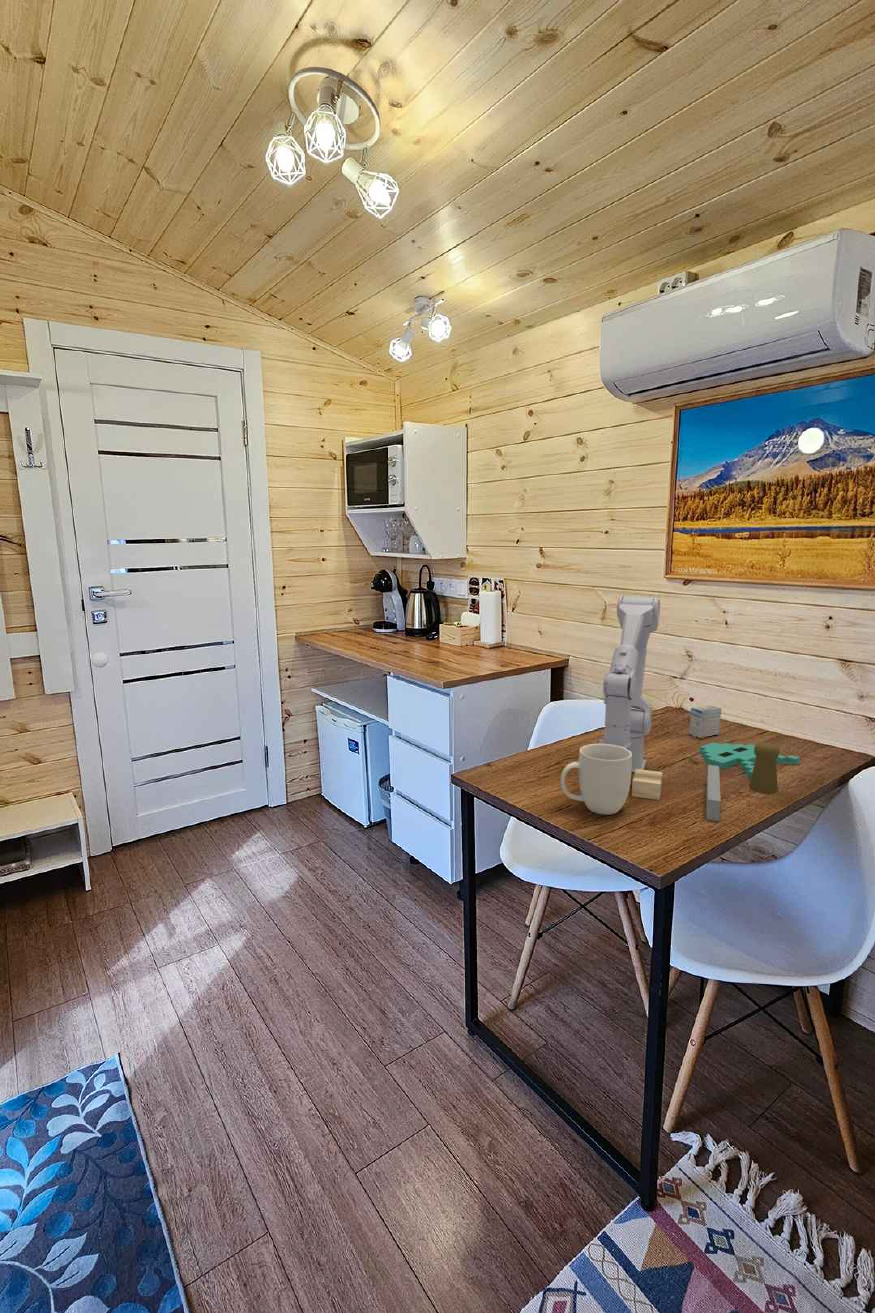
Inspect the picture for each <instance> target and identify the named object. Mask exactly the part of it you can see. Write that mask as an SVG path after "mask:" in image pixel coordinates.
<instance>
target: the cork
mask: <svg viewBox="0 0 875 1313" xmlns="http://www.w3.org/2000/svg"><path fill="white" fill-rule="evenodd" d="M754 745H755V748H754V753H755V755H756V759H755V764H754V768H753V772H752V776H751V779H750V781H749V784H748V785H749V786H748V788H749V789H750V790H752V791H754V792H756V793H760V792H761V793H760V794H767V793H768V794H769V795H770V793H773V794H776V793H778V792H779V789H778V788H779V786H778V772H777V768H778V767H777V764H776V758H777V757H778V756H779V755H780V748H779V747H778V745H777V744H775V743H771V742H765V741H763V742H758V743H756V744H754Z"/></svg>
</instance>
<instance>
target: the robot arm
mask: <svg viewBox="0 0 875 1313" xmlns="http://www.w3.org/2000/svg"><path fill="white" fill-rule="evenodd" d="M660 612H661V599H660V598H659V596H629V595H627V596H625V595H621V596H620V597H619V598H618V600H617V602H616V617H617V618H618V623H619V625H620V629H621V639H620V645H619V646H617V647H616V648H615V649H614V651H613V655H612V659H611V662H610V668H609V672H608V673H606V674H605V676H604V678H603V684H602V685H603V686H602V692H603V693H602V694H603V703H604V705H605V715H604V736H603V737H604V738H599V741H598V744H611V745H617V746H621V747H624V748H626V749H628V750H629V751H630V752H631V753H632V768H631V770H632V771H631V773H635V771H636V769H641V770H645V767H646V763H647V760H646V759H644V740H645V736H647V735H648V734H649V733H650V731H651V727H652V705H651V704H650V702H648V701H647V700H646V699H645V698H643V686H644V685H643V684H644V677H645V668H646V667H645V666H646V659H647V649H648V642H649V638H650V635H651V634H652V633H654V632H656V631H658V627H659V624H660V623H659V622H660Z"/></svg>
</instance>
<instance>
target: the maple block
mask: <svg viewBox="0 0 875 1313" xmlns="http://www.w3.org/2000/svg"><path fill="white" fill-rule="evenodd" d="M631 784H632V785H631V786H632V787H631V797H636V798H640V799H641V798H642V799H650V800H656V801H660V798H661V792H662V786H663V771H655V770H646V769H644V770H641V769H636V771H635V772H634V774H633V778H632V783H631Z"/></svg>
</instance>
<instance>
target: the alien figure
mask: <svg viewBox="0 0 875 1313" xmlns="http://www.w3.org/2000/svg"><path fill="white" fill-rule="evenodd" d="M755 745H756V744H751V743H749V744H747V745H745V744H741V743H736V744H731V743H727V742H725V743H719V742H711V743H707V744H704V745H701V746H699V751H698V753H699V754H701V753H702V754H701V757H702V758H703V761H704V760H705V761H704V762H706V765H707V766H708V765H713V766H719V770H722V771H723V770H725V769H728V767H729V768H731V767H734V766H736V764H737V765H738V764H740V765H739V766H740V769H742V770H743V769H744V770H743V774H745V773H746V774H745V775H747V777H748V779H750V780H751V776H752V772H753V768H754V763H755V759H756V755H755V753H754V748H755ZM800 760H801V758H800V756H797V755H792V754H790V755H788V756H784V755H782V754H779V756H778V757H777V758H776V763H779V764H778V765H780V764H783V763H785V762H788V763H791V764H794V765H795V764H797V763H799V764H800ZM785 764H786V763H785ZM783 765H784V764H783ZM794 765H793V766H794ZM730 766H731V767H730ZM795 766H796V765H795Z"/></svg>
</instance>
